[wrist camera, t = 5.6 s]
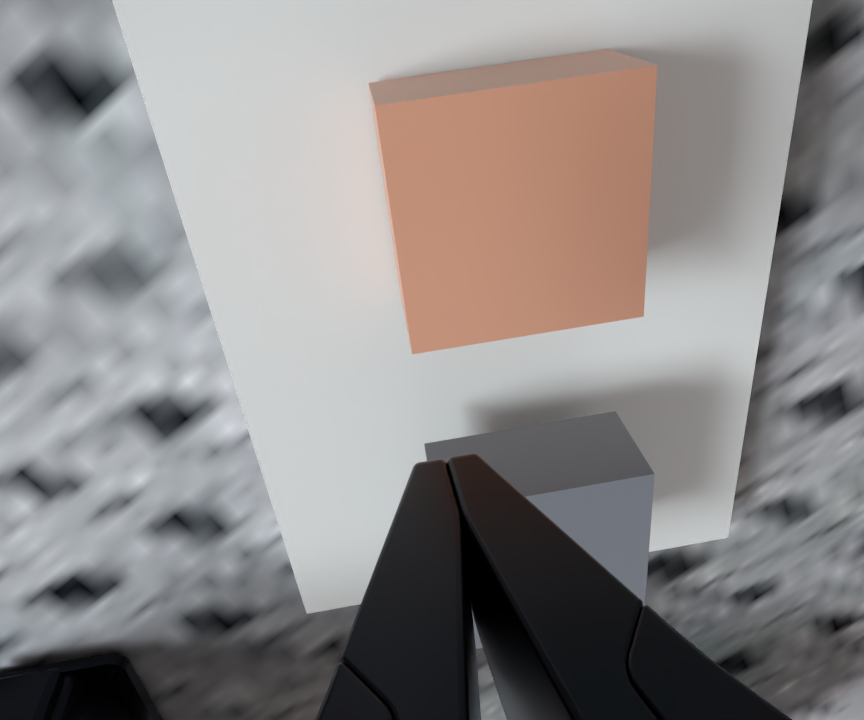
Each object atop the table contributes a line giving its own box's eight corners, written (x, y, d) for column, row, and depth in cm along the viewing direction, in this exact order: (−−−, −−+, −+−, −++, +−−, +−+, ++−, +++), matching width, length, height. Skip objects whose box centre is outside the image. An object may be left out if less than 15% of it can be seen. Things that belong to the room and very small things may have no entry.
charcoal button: (610, 547, 20) (643, 618, 18) (444, 577, 20) (458, 652, 18) (615, 410, 18) (654, 473, 15) (423, 443, 17) (437, 511, 15)
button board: (706, 506, 24) (728, 537, 23) (307, 577, 23) (306, 614, 22) (871, -756, 10) (947, -857, 9) (-71, -678, 10) (-134, -774, 8)
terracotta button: (603, 270, 17) (643, 316, 15) (401, 302, 16) (411, 354, 14) (607, 48, 14) (658, 65, 12) (368, 82, 14) (374, 105, 12)
